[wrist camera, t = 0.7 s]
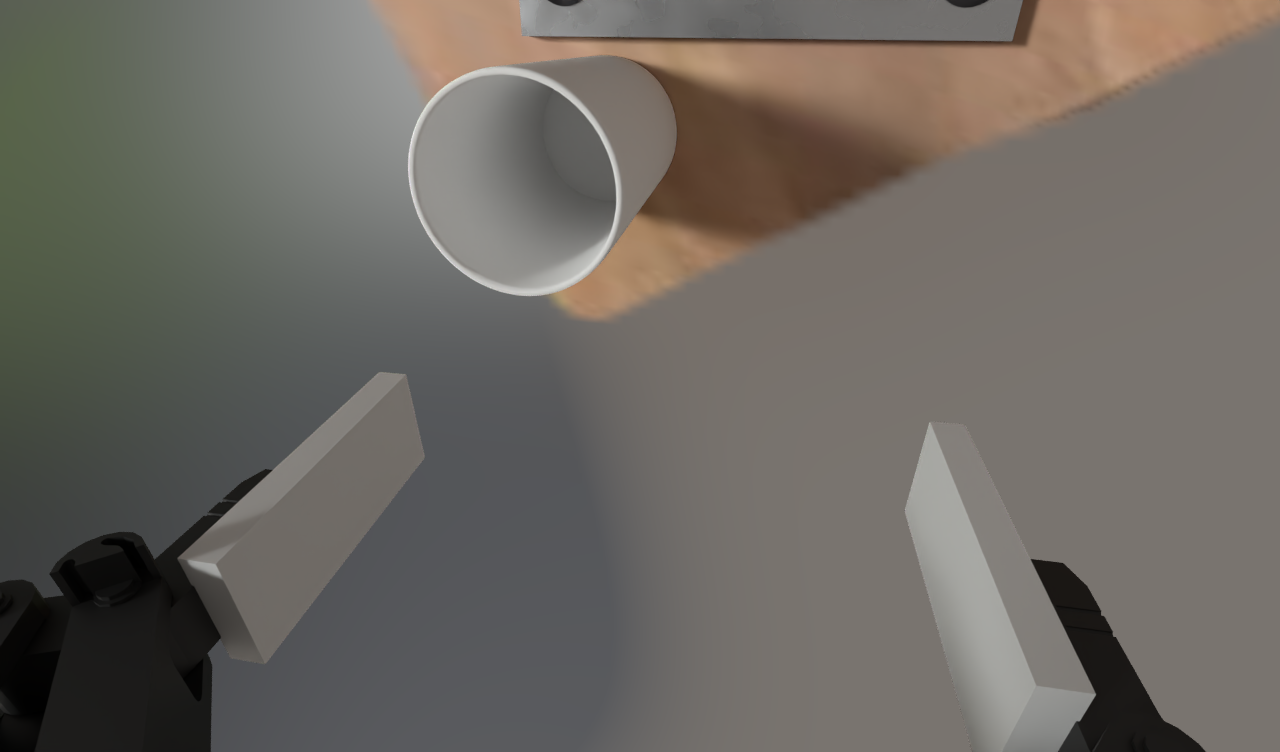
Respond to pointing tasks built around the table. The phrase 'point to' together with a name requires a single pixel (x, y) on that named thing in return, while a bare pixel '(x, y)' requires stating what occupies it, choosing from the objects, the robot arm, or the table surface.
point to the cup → (539, 167)
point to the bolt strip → (774, 19)
